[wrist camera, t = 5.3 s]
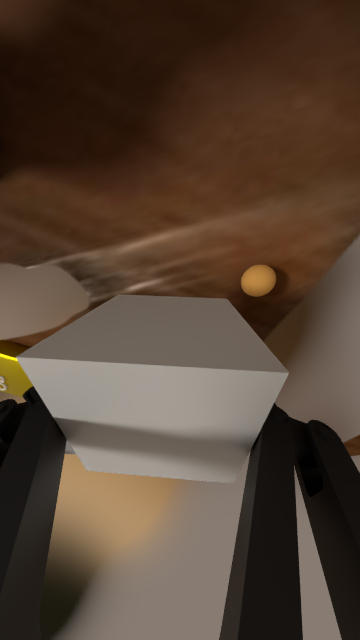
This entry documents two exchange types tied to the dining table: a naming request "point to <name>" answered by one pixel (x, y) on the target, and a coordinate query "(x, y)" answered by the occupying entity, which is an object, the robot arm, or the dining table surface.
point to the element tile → (12, 369)
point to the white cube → (158, 386)
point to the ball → (258, 280)
